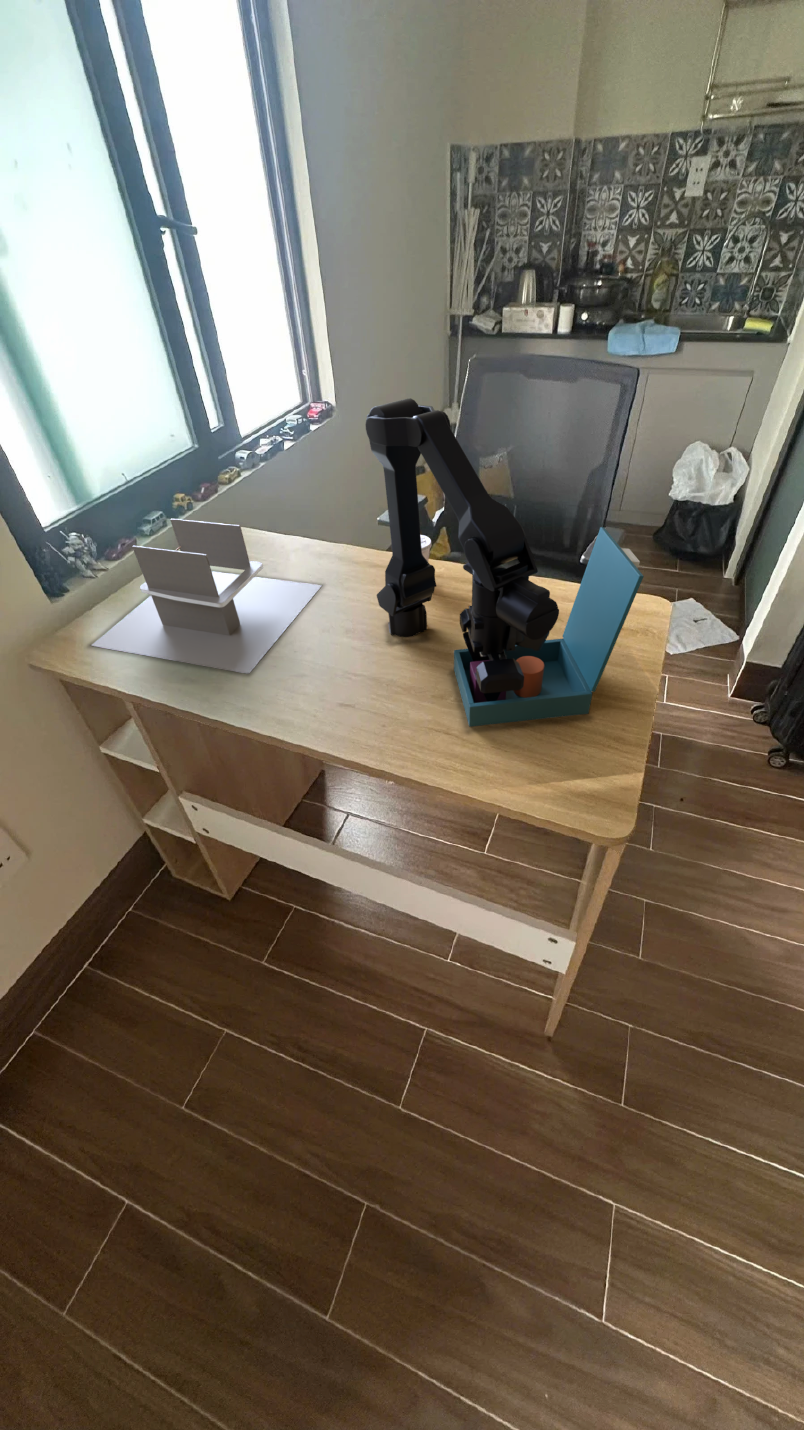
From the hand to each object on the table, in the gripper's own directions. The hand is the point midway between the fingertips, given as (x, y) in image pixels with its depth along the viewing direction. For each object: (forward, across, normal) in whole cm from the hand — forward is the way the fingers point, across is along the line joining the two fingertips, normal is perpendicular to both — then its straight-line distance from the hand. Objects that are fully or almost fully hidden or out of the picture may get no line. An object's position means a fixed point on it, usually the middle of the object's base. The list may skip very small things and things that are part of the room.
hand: (487, 689), depth 96 cm
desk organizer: (+2, +35, +50) cm, 60 cm away
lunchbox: (+2, 0, -5) cm, 5 cm away
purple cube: (+1, 0, 0) cm, 1 cm away
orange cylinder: (+1, 0, -6) cm, 7 cm away
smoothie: (+2, +38, +7) cm, 39 cm away
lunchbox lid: (-13, 0, -16) cm, 20 cm away
